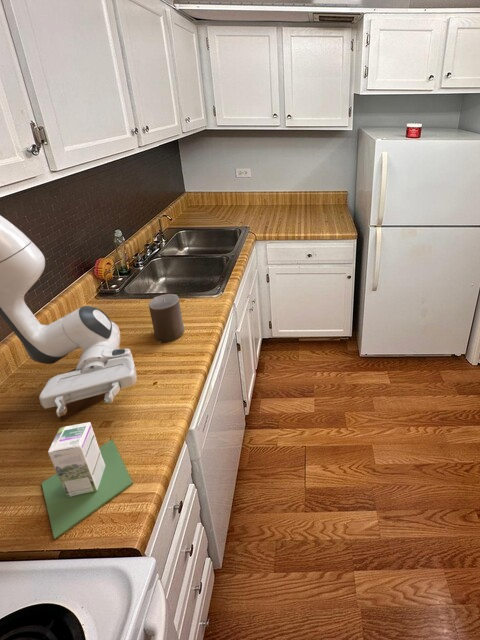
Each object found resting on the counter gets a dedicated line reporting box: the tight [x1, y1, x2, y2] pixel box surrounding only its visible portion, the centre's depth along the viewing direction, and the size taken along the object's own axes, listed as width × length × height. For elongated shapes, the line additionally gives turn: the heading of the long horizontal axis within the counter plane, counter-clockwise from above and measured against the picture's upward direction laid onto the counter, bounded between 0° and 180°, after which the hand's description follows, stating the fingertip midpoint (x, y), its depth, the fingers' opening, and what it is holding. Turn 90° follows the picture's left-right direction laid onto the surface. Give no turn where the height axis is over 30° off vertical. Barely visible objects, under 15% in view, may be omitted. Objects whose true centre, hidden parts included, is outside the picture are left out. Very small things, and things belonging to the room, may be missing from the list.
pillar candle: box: [148, 293, 185, 343], centre depth 116 cm, size 10×10×15 cm
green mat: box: [40, 439, 134, 540], centre depth 72 cm, size 14×14×1 cm
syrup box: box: [47, 421, 105, 498], centre depth 70 cm, size 6×6×14 cm
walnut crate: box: [55, 367, 109, 422], centre depth 94 cm, size 14×14×4 cm
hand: (85, 407), depth 77 cm, fingers open, 8 cm apart
